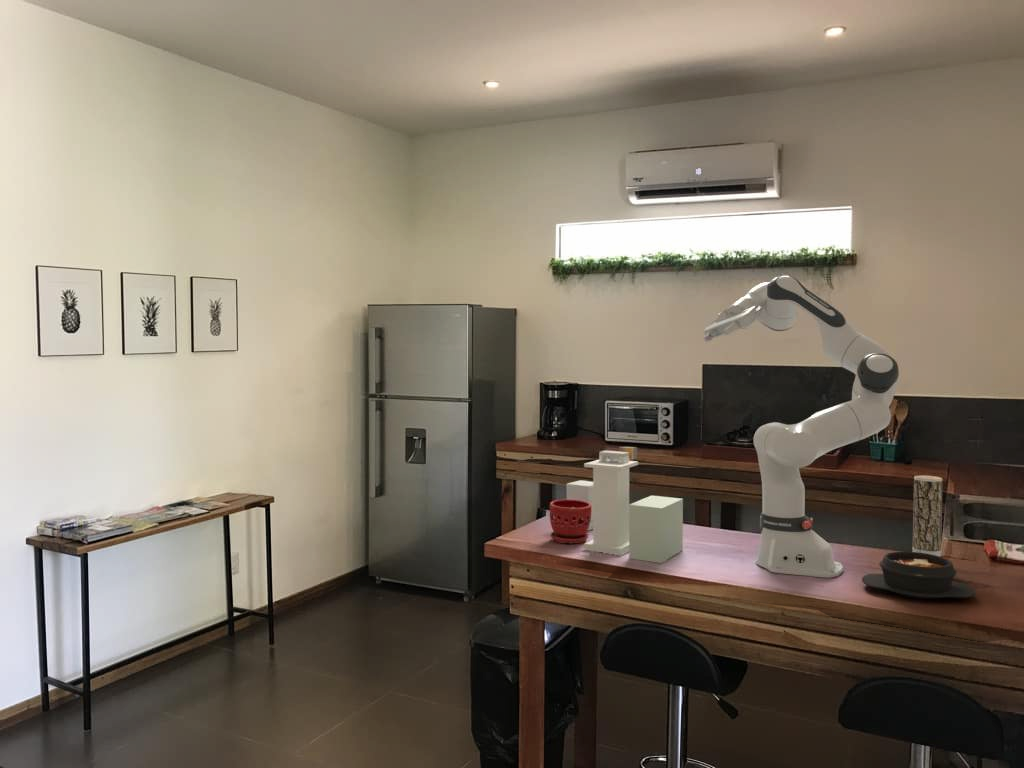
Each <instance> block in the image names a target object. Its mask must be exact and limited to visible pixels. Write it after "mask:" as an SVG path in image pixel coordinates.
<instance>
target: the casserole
mask: <svg viewBox="0 0 1024 768" xmlns="http://www.w3.org/2000/svg"><path fill="white" fill-rule="evenodd" d="M879 567H880V568H881V570H882V573H867V574H865V575H863V576H862V577H861V582H862V583H863V584H865V585H866V586H868V587H870V588H873V589H874V588H875V589H879V590H884V591H889V592H892V593H894V594H897V595H899V596H903V597H906V598H911V599H916V600H917V599H918V600H938V599H942V598H958V599H961V598H970V597H973V596H975V595H976V593H977V592H976V590H975V589H974V588H973V587H972V586H970V585H969V584H967V583H964V582H959V581H954V580H953V579H954V578H955V577H954V576H956V575H957V573H958V572H957V570H956V569H955V568H954V564H953V562H952V561H951V560H949V559H947V558H945V557H942V556H941V557H939V556H935V555H931V554H925V553H918V552H913V551H893V552H889V553H888V552H887V553H886V554H884V555H883V558H882V560H881V561H880V562H879Z"/></svg>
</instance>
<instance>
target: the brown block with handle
mask: <svg viewBox="0 0 1024 768" xmlns="http://www.w3.org/2000/svg"><path fill="white" fill-rule="evenodd" d="M619 452H629V461H634V460H637V458H638V447H636V446H635V447H634V446H619ZM608 459H609V461H611V462H615V461H621V457H614V456H608Z"/></svg>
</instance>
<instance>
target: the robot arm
mask: <svg viewBox="0 0 1024 768" xmlns="http://www.w3.org/2000/svg"><path fill="white" fill-rule="evenodd" d="M798 309H800V310H801V311H803V312H804V313H806V314H807V315H809V316H810V317H812V319H814V321H815V322H816V324H817V327H818V328H819V332H820V337H821V345H822V349H823V351H824V354H825V356H826V357H827V358H828V359H829V360H830V361H832V362H833V363H835V364H837V365H838V366H839V367H841V368H843V369H845V370H847V371H849V372H850V373H852V374H854V375H855V378H854V381H853V384H852V391H851V398H850V400H849V401H846V402H842V403H839V404H836V405H834V406H831V407H828V408H825V409H822V410H819V411H816V412H814V413H813V414H812V415H811V416H809V417H808V418H805V419H804V420H802V421H800V422H798V423H793V424H786V423H781V422H776V421H773V422H769V423H766V424H763V425H761V426H759V427H758V428H757V430H756V431H755V433H754V435H753V446H754V449H755V451H756V454H757V460H758V467H759V473H760V477H761V489H762V500H761V501H762V503H761V505H762V512H761V513H760V518H759V528H760V535H761V536H760V542H759V548H758V553H757V557H756V559H755V564H756V565H758V566H759V567H762V568H764V569H766V570H768V571H769V572H771V573H775V574H776V573H777V574H787V575H796V576H807V577H815V578H817V577H818V578H828V579H829V578H834V577H837V576H840V575H841V574H842V573H843V571H844V567H843V564H842V563H841V562H839V561H835V555H834V551H833V548H832V546H831V544H830V543H829V542H827V541H826V540H825V539H824V538H822V537H821V536H820V535H819V534H817V533H816V532H815V531H814V530H812V528H813V520H814V519H813V517H809V516H807V515H806V514H805V507H806V506H805V503H806V502H805V501H806V500H805V498H806V495H805V493H806V491H805V484H804V482H803V480H802V477H801V472H800V468H805V467H807V466H810V465H811V464H812V463H814V461H815V460H817V459H818V458H819V457H822V456H823V455H825V454H827V453H829V452H831V451H834V450H835V449H838V448H841V447H844V446H847V445H849V444H850V445H851V444H853V443H856V442H859V441H861V440H864V439H866V438H869V437H871V436H873V435H875V434H877V433H879V432H881V431H883V430H884V429H885V428H887V427H888V426H889V425H890V423H891V419H892V412H891V406H892V402H893V400H894V397H895V394H896V391H897V385H898V378H899V376H900V375H899V374H900V373H899V372H900V371H899V365H898V363H897V361H896V359H895V358H893V357H892V355H891V353H890V352H889V351H888V350H887V349H886V348H884V347H883V346H882V345H881V344H879V343H878V342H877V341H875V340H873V339H871V337H868V336H866V335H864V334H862V333H860V332H859V331H858V330H857V329H855V328H854V327H853V326H852V325H851V324H850V323H849V322H848V321H847V320H846V318H845V316H844V315H843V313H842V312H840V311H839V310H838V309H837V308H836V307H833V306H832V304H830V303H828V302H826V301H825V300H824V299H823V298H821V297H820V296H818V295H816V294H815V293H814V292H812V291H811V290H809V288H806V287H805V286H804V285H803V283H802V282H801V281H800V280H798V279H797V278H795V277H793V276H791V275H787V274H782V275H779V276H776V277H774V278H773V279H771V280H770V281H768V282H762V283H759V284H757V285H755V286H754V287H752V288H751V289H750V290H749V291H747V292H746V293H745V294H744V296H742V297H740V298H739V299H738V300H736V301H735V302H734V303H732V304H731V305H730V306H729V307H728V308H726V309H725V310H723V311H721V312H719V314H717V317H716V318H715V319H714V320H713V321H711V322H710V323H709V324H708V325H707V326H706V327H705V328H704V330H703V333H704V337H703V340H704V342H705V343H709V342H711V341H712V340H713V339H715V338H719V337H722V336H724V335H725V336H728V335H730V334H732V333H733V332H736V331H739V330H746V329H749V327H751V326H752V325H753V324H754V323H756V322H757V321H759V322H760V323H761V324H762V325H764V326H765V327H767V328H768V329H770V330H771V331H775V332H785V331H788V330H789V329H792V328H793V327H794V326H795V324H796V321H797V316H798Z"/></svg>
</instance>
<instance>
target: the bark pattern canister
mask: <svg viewBox="0 0 1024 768" xmlns="http://www.w3.org/2000/svg"><path fill="white" fill-rule="evenodd" d="M912 506H913V510H912V512H913V513H912V514H913V517H912V552H918V553H925V554H931V555H935V556H939V557H942V524H943V523H942V519H943V514H942V513H943V478H942V477H940V476H933V475H914V478H913V505H912Z"/></svg>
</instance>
